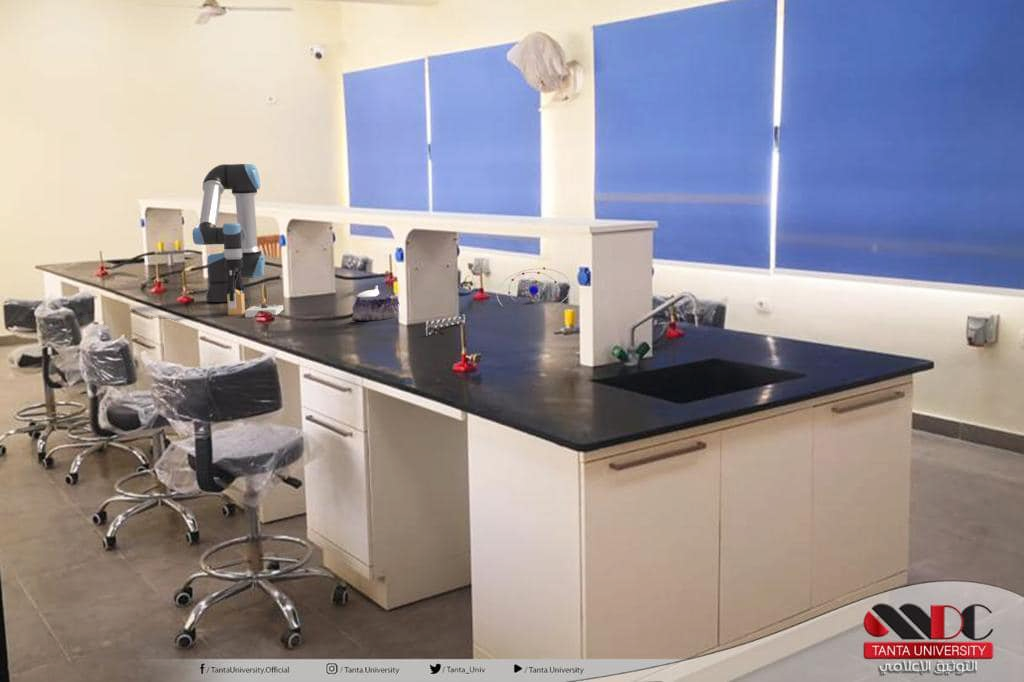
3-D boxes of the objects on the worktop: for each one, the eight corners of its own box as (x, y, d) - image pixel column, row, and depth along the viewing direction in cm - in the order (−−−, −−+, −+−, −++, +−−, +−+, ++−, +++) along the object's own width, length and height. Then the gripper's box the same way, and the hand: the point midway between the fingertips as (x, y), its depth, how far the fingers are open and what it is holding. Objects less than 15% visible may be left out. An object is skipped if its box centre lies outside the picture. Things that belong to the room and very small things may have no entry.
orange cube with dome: (231, 313, 441) (229, 288, 440) (245, 313, 442) (243, 288, 440) (228, 315, 435) (226, 290, 434) (242, 314, 436) (240, 289, 434)
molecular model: (439, 340, 367) (439, 323, 366) (421, 337, 372) (421, 321, 371) (480, 331, 388) (480, 315, 387) (462, 329, 393) (462, 313, 392)
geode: (361, 323, 398) (360, 298, 396) (347, 321, 407) (346, 297, 405) (404, 319, 411) (403, 295, 409) (389, 316, 420) (388, 293, 418)
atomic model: (528, 340, 440) (584, 302, 436) (514, 330, 420) (573, 290, 416) (497, 289, 450) (552, 252, 445) (482, 277, 430) (539, 238, 426)
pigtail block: (254, 312, 444) (253, 296, 443) (283, 311, 444) (282, 296, 443) (245, 317, 426) (244, 301, 425) (276, 316, 427) (275, 300, 426)
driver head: (386, 283, 481) (368, 277, 471) (386, 304, 478) (368, 299, 469) (370, 288, 487) (352, 282, 477) (370, 309, 484) (352, 303, 474)
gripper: (231, 257, 447) (234, 304, 450) (217, 260, 423) (220, 310, 426) (248, 256, 448) (250, 303, 451) (235, 260, 423) (238, 309, 426)
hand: (236, 306), depth 438 cm, fingers open, 13 cm apart
